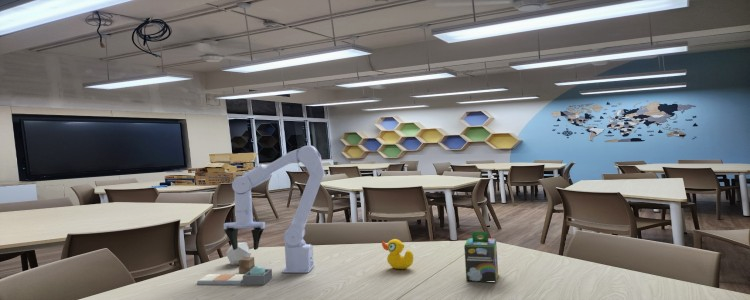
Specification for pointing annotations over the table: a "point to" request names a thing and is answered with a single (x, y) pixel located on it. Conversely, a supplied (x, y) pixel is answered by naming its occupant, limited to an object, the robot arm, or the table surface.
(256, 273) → the dome
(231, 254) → the die
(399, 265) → the duckling
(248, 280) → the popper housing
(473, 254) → the chalk box
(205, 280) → the game board
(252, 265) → the brown wooden block
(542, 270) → the table surface
